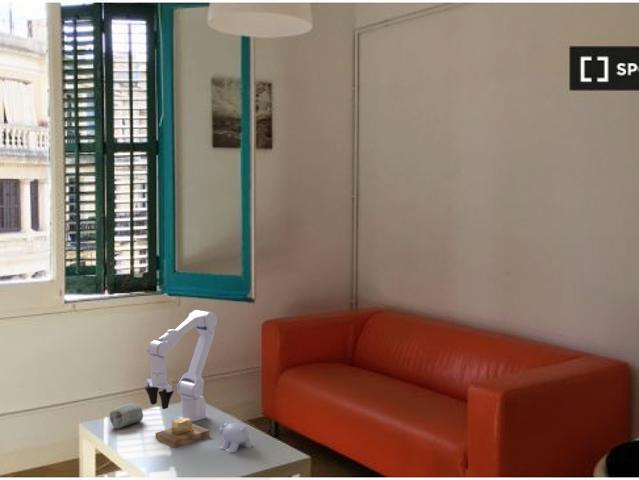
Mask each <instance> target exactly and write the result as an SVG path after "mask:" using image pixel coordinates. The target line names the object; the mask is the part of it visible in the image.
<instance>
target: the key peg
mask: <svg viewBox="0 0 639 480" xmlns="http://www.w3.org/2000/svg"><path fill="white" fill-rule="evenodd" d="M192 423H193V422H192V419H190V418H187V417H184V418H180V419H177V418H176V419H174V420H171V428H172V433H173V434H175V435H178V436H179V435H183V434H186V433H189V432H192Z"/></svg>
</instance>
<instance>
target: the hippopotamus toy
mask: <svg viewBox="0 0 639 480" xmlns="http://www.w3.org/2000/svg"><path fill="white" fill-rule="evenodd" d="M248 427H249V425H244V424H241V423H239V422H225V423H223V424H222V425H221V426H220V427H219V433H220V434H221V435H222V436H223V438H224V440H223V442H222V445H221V446H219V448H220V449H221V450H223V449H226V450H225V451H226V452H227V451H228V452H227V453H229V454H232V453H233V452H234V453H236V452H237V451H238V448H239V447H240V444H243V445H242V446H243V447H244V446H245V447H244V448H246V447H250V448H252V447H251V446H253V447H254V444H253V442H252V441H251V439H250V431H249V429H248Z"/></svg>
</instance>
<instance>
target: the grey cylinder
mask: <svg viewBox="0 0 639 480" xmlns="http://www.w3.org/2000/svg"><path fill="white" fill-rule="evenodd" d="M143 418H144V412H143V410H142V407H141V405H140V404H139V403H136V402H132V403H131V402H130V403H127V404H123V405H120V406H118V407H116V408H113V409H112V410H111V411H110V412H109V420H110V424H111V425H112V427H113V428H115V429H116V430H117V429H118V430H119V429H122V428H124V427H126V426H131V425H134V424H137V423H140V422H141V421H142V420H143Z"/></svg>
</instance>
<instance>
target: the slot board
mask: <svg viewBox="0 0 639 480" xmlns="http://www.w3.org/2000/svg"><path fill="white" fill-rule="evenodd" d="M210 431H211V430H210V429H207V428H205V427H202V426H199V425H198V424H195V423H193V422H192V432H189V433H186V434H183V435H179V436H178V435H175V434H173V433H172V427H171V428H167V429H164V430H161V431H157V432H154V433H155V437H154V438H155V440H156V439H157V440H156V441H158V440H159V441H158V442H161V443H162V444H165V445H168V446H169V447H172V448H174V449H175V448H178V447H181V446H184V445H187V444H190V443H194V442H197V441H200V440H203V439H207V438H210Z"/></svg>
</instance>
